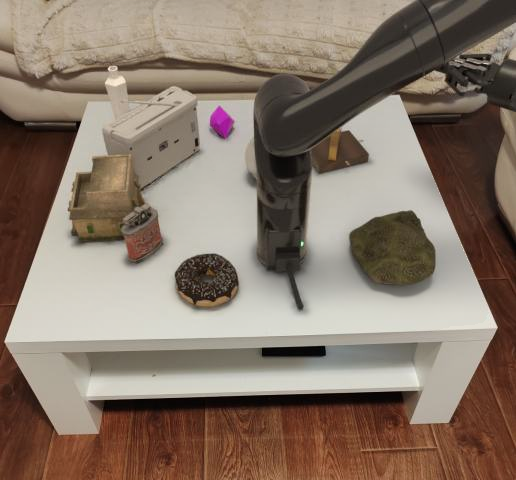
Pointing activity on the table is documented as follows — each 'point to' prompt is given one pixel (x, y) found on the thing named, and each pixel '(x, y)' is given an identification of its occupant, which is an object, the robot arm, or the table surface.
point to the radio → (156, 133)
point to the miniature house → (104, 198)
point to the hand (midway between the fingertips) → (429, 60)
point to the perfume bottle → (117, 92)
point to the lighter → (142, 233)
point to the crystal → (221, 121)
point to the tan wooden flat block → (334, 144)
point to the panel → (339, 153)
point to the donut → (206, 290)
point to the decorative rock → (394, 249)
